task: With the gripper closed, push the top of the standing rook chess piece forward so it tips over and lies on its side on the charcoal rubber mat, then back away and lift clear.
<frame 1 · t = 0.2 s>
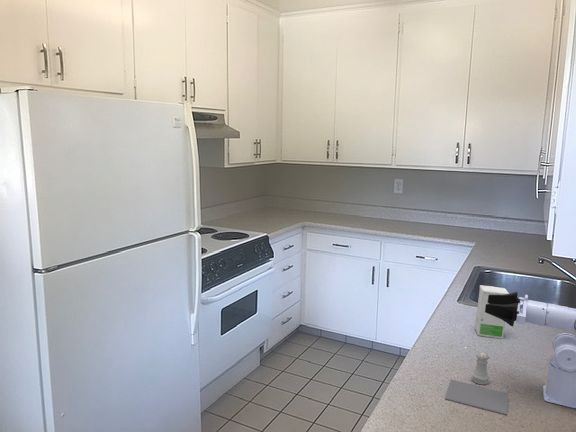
hand: (486, 303, 123), 21 cm above the worktop, tool horizontal, fingers open, 7 cm apart
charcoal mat: (477, 396, 118), on the worktop
rook chess piece: (479, 381, 126), on the worktop
skincare box: (489, 334, 157), on the worktop
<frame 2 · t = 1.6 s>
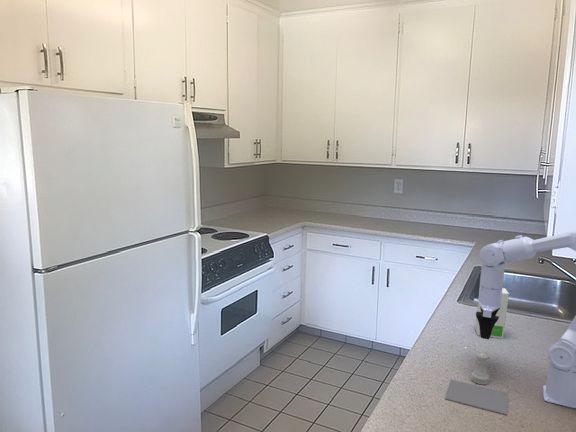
hand: (486, 333, 131), 10 cm above the worktop, tool pointing down, fingers open, 7 cm apart
nothing on the worktop moved.
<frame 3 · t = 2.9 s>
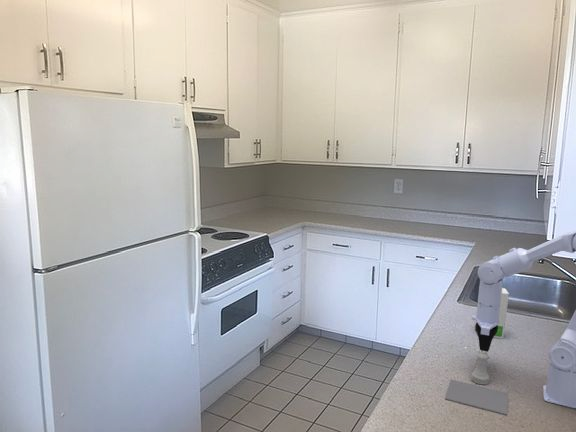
hand: (484, 350, 131), 6 cm above the worktop, tool pointing down, fingers closed
nothing on the worktop moved.
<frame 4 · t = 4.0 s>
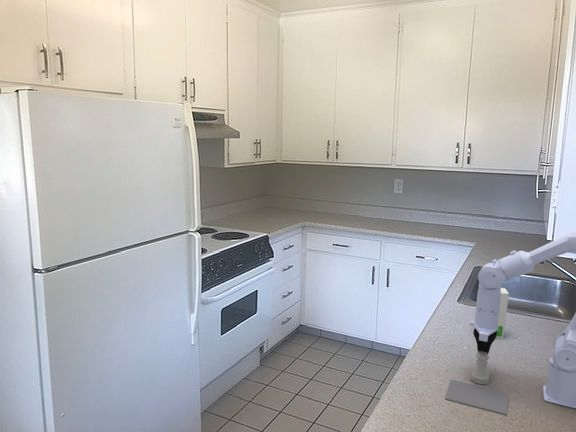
hand: (482, 356, 127), 6 cm above the worktop, tool pointing down, fingers closed
rook chess piece: (479, 381, 126), on the worktop, touching gripper
everything else where it was.
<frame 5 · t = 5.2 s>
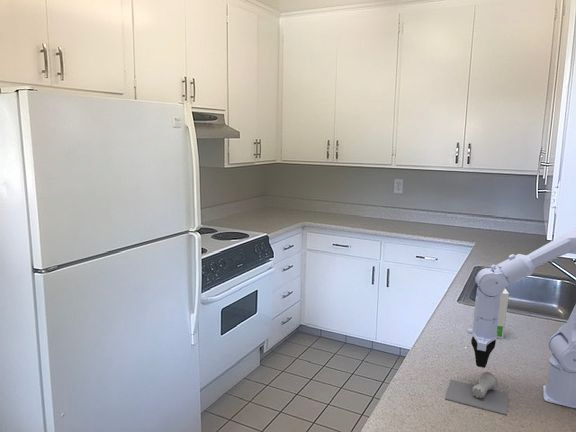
hand: (480, 366, 121), 6 cm above the worktop, tool pointing down, fingers closed
rook chess piece: (489, 378, 122), point 3 cm above the worktop, touching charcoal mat
everything else where it was.
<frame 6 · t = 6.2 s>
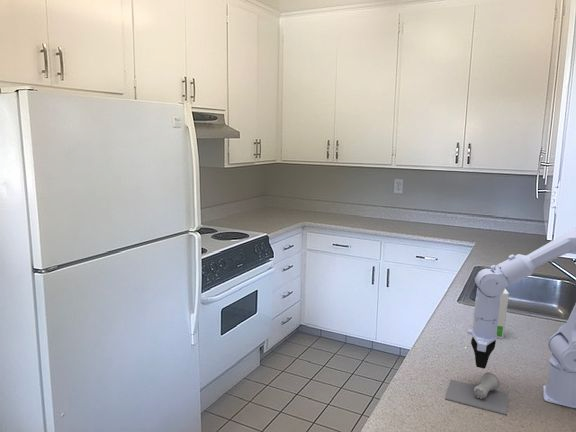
hand: (480, 366, 121), 6 cm above the worktop, tool pointing down, fingers closed
nothing on the worktop moved.
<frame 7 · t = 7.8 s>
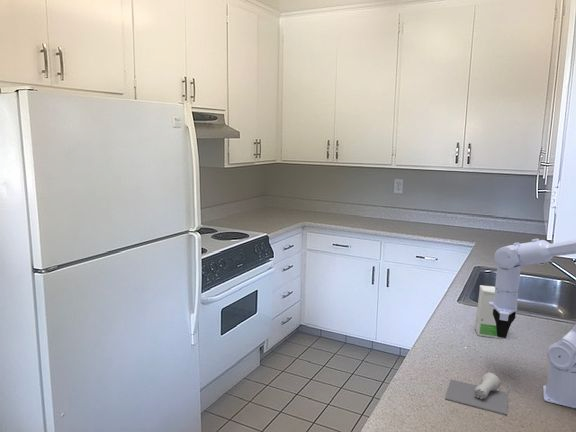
hand: (501, 336, 129), 10 cm above the worktop, tool pointing down, fingers closed
nothing on the worktop moved.
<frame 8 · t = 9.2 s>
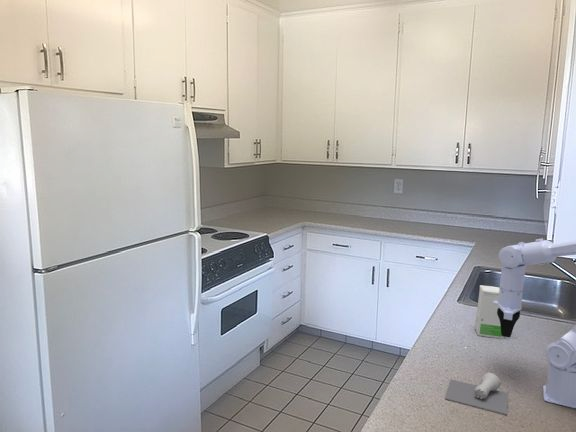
hand: (505, 335, 130), 10 cm above the worktop, tool pointing down, fingers closed
nothing on the worktop moved.
at the end: rook chess piece tilted 95°; rook chess piece inside the target area (4.3 cm from its centre), point 2.6 cm above the worktop; rook chess piece touching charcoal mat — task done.
